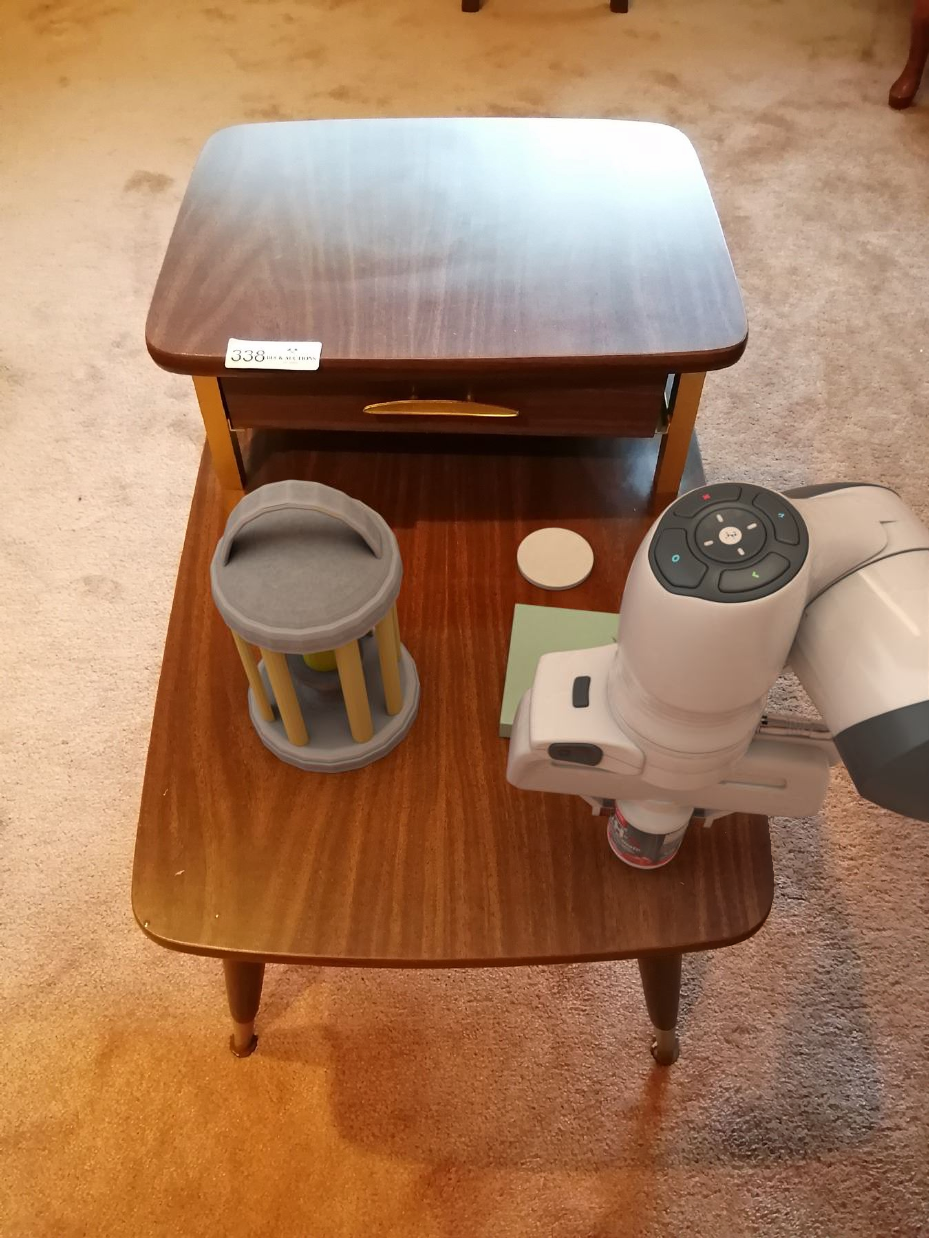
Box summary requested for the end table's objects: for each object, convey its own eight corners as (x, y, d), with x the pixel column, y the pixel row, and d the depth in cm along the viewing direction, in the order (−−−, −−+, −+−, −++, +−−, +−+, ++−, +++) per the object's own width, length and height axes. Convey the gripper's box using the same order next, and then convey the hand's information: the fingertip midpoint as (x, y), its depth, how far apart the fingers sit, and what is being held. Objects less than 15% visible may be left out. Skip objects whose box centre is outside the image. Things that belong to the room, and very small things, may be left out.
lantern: (418, 623, 87) (399, 408, 66) (423, 768, 78) (403, 572, 58) (256, 632, 86) (188, 418, 66) (244, 778, 78) (162, 584, 58)
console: (674, 634, 86) (682, 607, 83) (673, 756, 79) (681, 731, 76) (514, 618, 87) (516, 590, 84) (499, 736, 80) (500, 711, 77)
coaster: (595, 535, 93) (595, 531, 92) (590, 594, 89) (591, 590, 88) (520, 528, 93) (521, 524, 93) (513, 586, 89) (513, 582, 89)
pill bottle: (591, 837, 73) (603, 776, 65) (636, 789, 75) (653, 724, 67) (649, 886, 70) (669, 829, 62) (694, 835, 73) (719, 774, 65)
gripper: (855, 682, 59) (798, 786, 70) (514, 651, 61) (511, 757, 72) (866, 777, 55) (804, 871, 66) (503, 740, 57) (502, 837, 68)
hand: (649, 811), depth 69 cm, fingers closed on pill bottle, 5 cm apart
